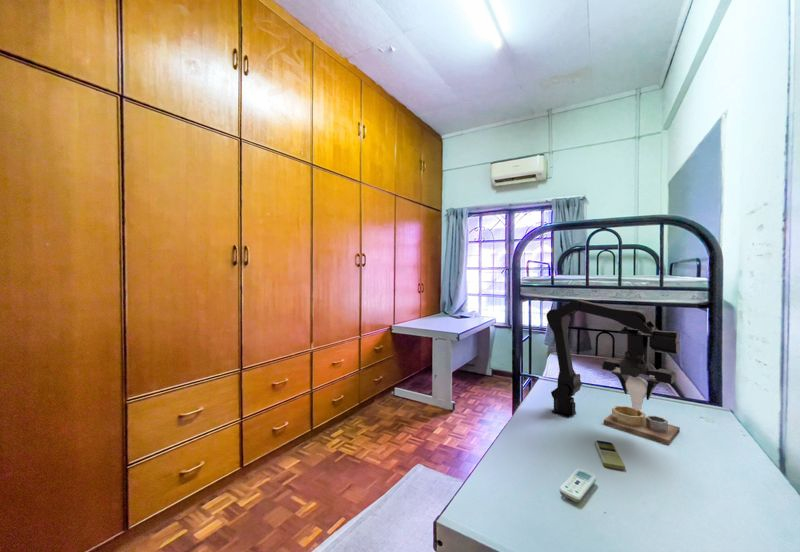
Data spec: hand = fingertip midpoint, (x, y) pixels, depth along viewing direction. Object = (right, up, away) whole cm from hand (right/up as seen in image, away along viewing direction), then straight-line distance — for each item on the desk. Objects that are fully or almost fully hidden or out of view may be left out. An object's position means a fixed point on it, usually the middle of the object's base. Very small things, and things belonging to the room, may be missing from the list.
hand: (636, 396), depth 105 cm
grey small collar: (+8, -11, +2) cm, 14 cm away
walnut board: (+5, -13, +5) cm, 14 cm away
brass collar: (+3, -11, +8) cm, 14 cm away
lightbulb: (0, -5, 0) cm, 5 cm away
